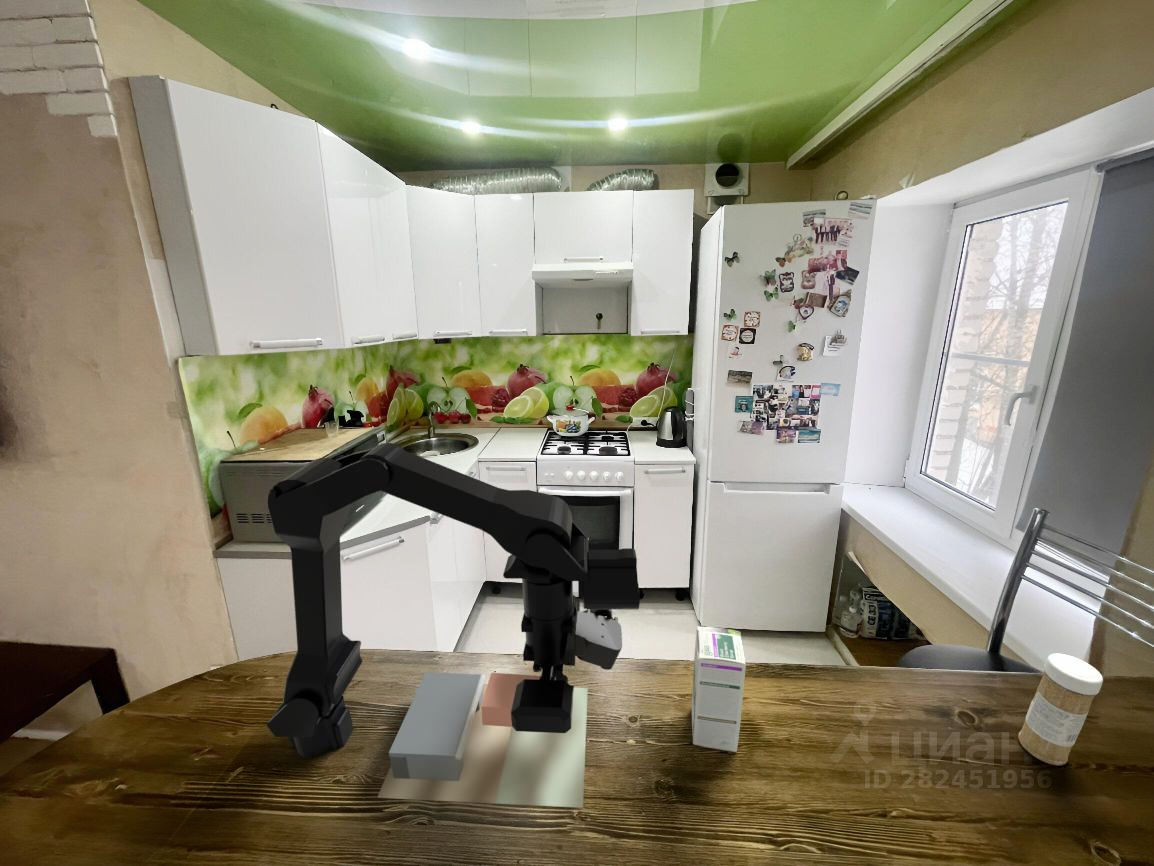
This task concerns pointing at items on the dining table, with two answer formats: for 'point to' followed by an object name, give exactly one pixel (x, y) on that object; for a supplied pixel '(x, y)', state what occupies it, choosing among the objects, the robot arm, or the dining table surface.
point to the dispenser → (437, 727)
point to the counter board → (510, 766)
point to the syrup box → (717, 688)
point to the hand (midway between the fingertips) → (552, 705)
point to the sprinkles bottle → (1059, 708)
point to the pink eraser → (501, 698)
